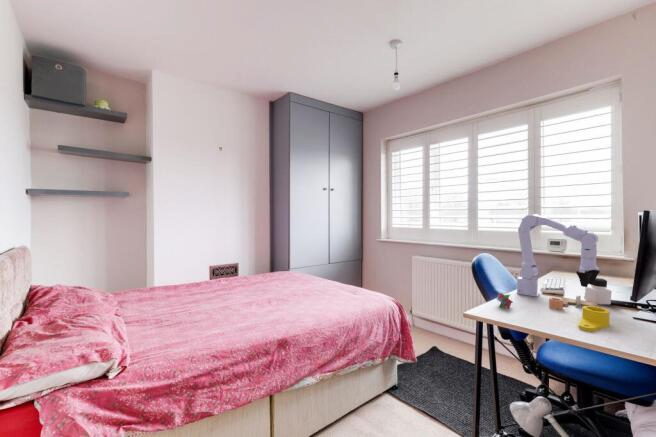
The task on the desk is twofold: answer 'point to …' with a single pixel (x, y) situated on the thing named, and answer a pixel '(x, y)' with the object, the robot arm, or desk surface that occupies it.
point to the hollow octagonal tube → (556, 303)
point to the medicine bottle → (598, 292)
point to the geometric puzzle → (504, 300)
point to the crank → (594, 318)
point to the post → (578, 301)
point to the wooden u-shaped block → (573, 302)
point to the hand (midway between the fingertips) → (587, 285)
